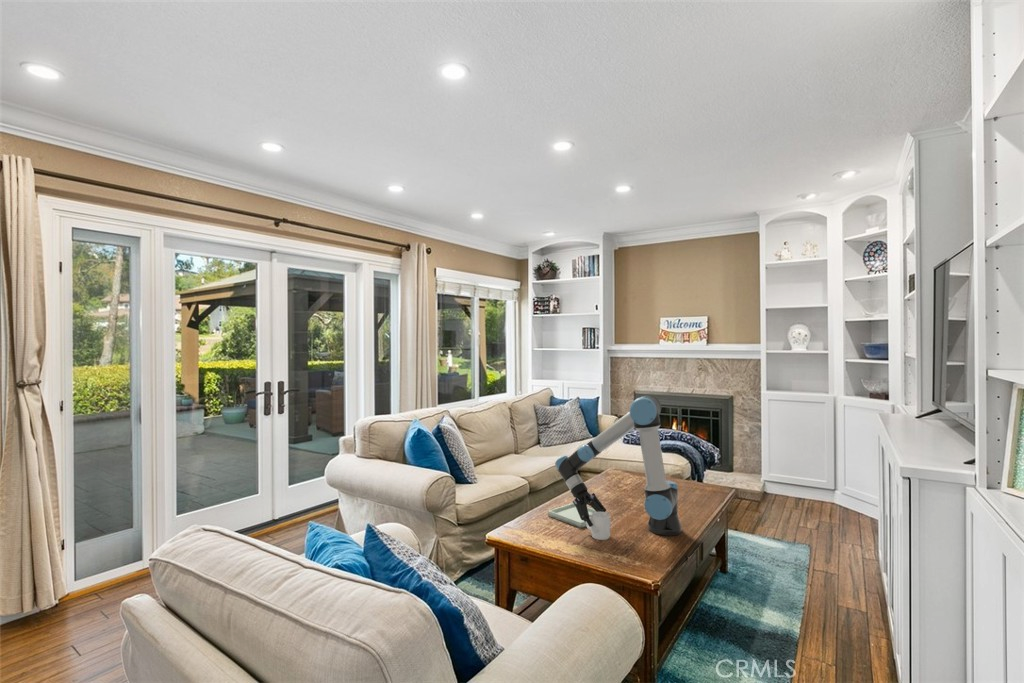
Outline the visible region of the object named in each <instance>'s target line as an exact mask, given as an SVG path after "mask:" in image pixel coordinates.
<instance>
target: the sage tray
mask: <svg viewBox="0 0 1024 683" xmlns="http://www.w3.org/2000/svg"><path fill="white" fill-rule="evenodd" d="M587 509H588V513H589V514H590V515H592V513H593V512H596V511H595V510H594V509H593V508H592V507H590V506H587ZM600 512H601V511H600ZM547 516H548V517H550V518H553V519H556V520H558V521H561V522H563V523H566V524H568V525H572V526H574V527H576V528H578V529H582V528H585V527H586V522H584V520H581V518H580V516H579V513H578V511H577V509H576V506H575V505H574V503H573V502H571V503H569V504H568V503H567V504H565V505H562V506H559V507H555V508H552V509H550V510H547ZM589 518H591V517H589Z"/></svg>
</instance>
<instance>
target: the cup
mask: <svg viewBox="0 0 1024 683" xmlns="http://www.w3.org/2000/svg"><path fill="white" fill-rule="evenodd" d="M589 517H591V518H592V520H593V521H594V523H595V525H596V526H597V528H598V530H599V531H598V532H597V533H596V534H594V532H593V530H592V529H591V527H590V526H589V525H588V523H587V522H586V526H585V527H586V528H587V529H588V530H589V531H591V534H590V535H591V537H592V538H593V539H595V540H598V541H607V540H609V539H610V537H611V536H610V535H611V527H610V524H611V515H610V513H609V512H607V511H606V512H593V513H592V515H590V514H589Z"/></svg>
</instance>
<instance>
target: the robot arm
mask: <svg viewBox="0 0 1024 683" xmlns="http://www.w3.org/2000/svg"><path fill="white" fill-rule="evenodd" d="M661 411H662V404H661V402H660V399H658V398H657V397H656V396H654V395H651V394H646V395H641V396H640V397H637V398H636V399H635V400H633V402H632V403H631V405H630V408H629V411H628V412H626V414H624V415H623V416H622V417H620V418H619V419H618V420H616V421H615V422H613V423H612V424H611V425H610V426H608V427H607V428H606V429H604V430H603V431H602V432H601V433H599V434H598V435H597V436H595V437H594V438H593V439H591V440H590V441H588V442H587V443H586V444H583V445H582V446H580V447H578V448H577V449H576V450H575V451H574V452H573V453H572V454H571V455H569V456H568V455H563V456H561V457H559V458H558V459H556V461H555V462H554V465H555V467H556V469H557V472H558V473H559V474H560V476H561V478H562V480H564V483H565V484H566V486H567V488H568V489H569V490H570V493H571V494H572V496H573V497H574V498H575V499H573V501H572V503H574V505H575V506H576V509H577V511H578V513H579V516H580V518H581V520H584V522H587V523H588V525H589V527H591V529H592V530H593V532H594V534H596V533H597V532H598V531H599V530H598V528H597V526H596V525H595V523H594V521H593V520H592V518H589V513H588V509H587V507H590V508H592V509H594V510H595V511H596V512H600V511H601V512H606V513H607V508H606V506H604V505H603V504H602V502H601V501H600V500H599V498H598V497H597V495H596V494H595V492H592V493H591V494H590V492H589V490H588V488H587V486H586V484H585V483H584V481H583V479H582V478H581V476H580V474H579V473H578V470H580V469H581V468H582V467H583V466H585V465H586V464H587V463H589V462H590V461H591V460H593V459H595V458H596V457H597V456H599V455H600V454H601V453H602V452H603V451H605V450H606V449H607V448H609V447H610V446H612V445H613V444H614V443H617V441H619V440H620V439H622V438H623V437H624V436H625V435H627V434H628V433H629V432H632V430H634V429H635V430H636V431H638V436H639V443H640V449H641V456H642V460H643V461H642V462H643V467H644V474H645V481H646V484H645V486H644V487H643V490H644V496H645V500H644V510H645V512H646V514H647V515H648V516H649V519H648V523H647V529H648V530H649V532H651V533H653V534H656V535H661V536H667V537H668V536H670V537H671V536H677V535H680V534H681V533H682V525H681V522H680V519H679V516H678V510H679V509H678V504H679V503H678V498H679V497H678V493H679V488H678V487H679V486H678V484H677V482H675V481H671V480H667V478H666V477H667V476H666V472H665V471H666V470H665V465H664V460H663V459H664V458H663V453H662V452H663V451H662V446H661V441H660V434H659V428H660V427H661V418H660V415H661ZM611 527H612V524H611V523H610V528H611Z"/></svg>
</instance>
